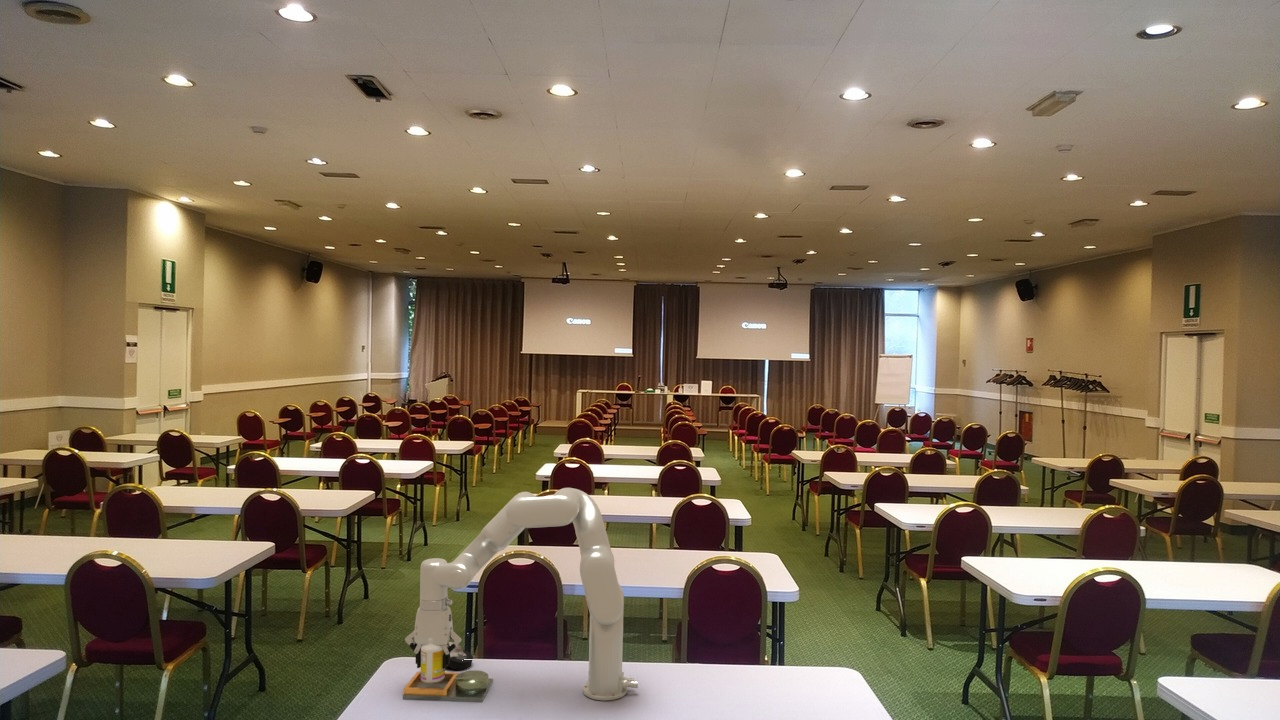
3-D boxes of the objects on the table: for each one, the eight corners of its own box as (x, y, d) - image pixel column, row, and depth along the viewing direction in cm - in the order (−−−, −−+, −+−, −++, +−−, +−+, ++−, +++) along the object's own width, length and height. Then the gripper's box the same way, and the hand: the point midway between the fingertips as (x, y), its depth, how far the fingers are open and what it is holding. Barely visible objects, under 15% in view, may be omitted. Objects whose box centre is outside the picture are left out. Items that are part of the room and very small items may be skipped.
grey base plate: (492, 682, 224) (493, 668, 224) (482, 702, 211) (482, 686, 211) (418, 680, 225) (418, 665, 225) (402, 699, 212) (403, 684, 212)
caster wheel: (473, 675, 235) (443, 678, 229) (458, 656, 244) (429, 658, 238) (479, 655, 235) (449, 657, 228) (463, 636, 243) (434, 638, 237)
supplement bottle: (448, 675, 221) (448, 630, 221) (439, 684, 214) (440, 638, 214) (425, 673, 222) (426, 629, 222) (416, 683, 215) (417, 637, 215)
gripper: (467, 600, 222) (466, 662, 221) (407, 598, 222) (406, 660, 222) (460, 608, 214) (459, 672, 214) (398, 607, 215) (397, 671, 215)
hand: (432, 666), depth 218 cm, fingers closed on supplement bottle, 6 cm apart
